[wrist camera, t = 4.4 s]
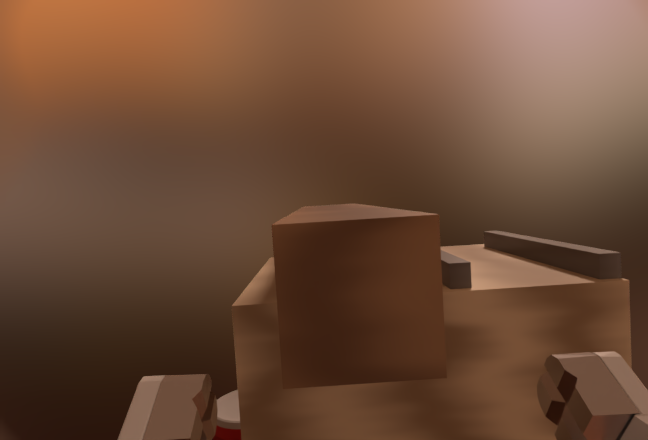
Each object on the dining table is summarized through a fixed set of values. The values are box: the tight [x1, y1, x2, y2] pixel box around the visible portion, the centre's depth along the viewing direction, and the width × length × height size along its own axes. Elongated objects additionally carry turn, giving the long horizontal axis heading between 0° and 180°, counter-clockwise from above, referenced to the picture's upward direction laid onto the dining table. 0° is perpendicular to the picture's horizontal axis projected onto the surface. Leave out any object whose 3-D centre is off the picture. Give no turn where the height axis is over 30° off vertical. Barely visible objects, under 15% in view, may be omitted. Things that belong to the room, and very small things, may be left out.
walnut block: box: [272, 204, 447, 389], centre depth 22 cm, size 4×24×4 cm, turn 1°
